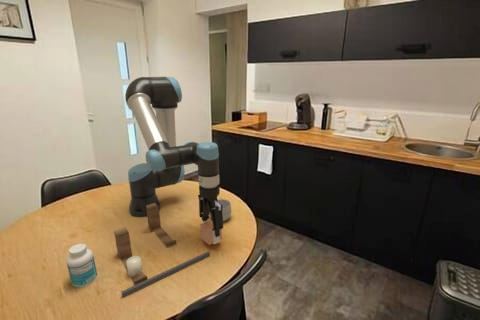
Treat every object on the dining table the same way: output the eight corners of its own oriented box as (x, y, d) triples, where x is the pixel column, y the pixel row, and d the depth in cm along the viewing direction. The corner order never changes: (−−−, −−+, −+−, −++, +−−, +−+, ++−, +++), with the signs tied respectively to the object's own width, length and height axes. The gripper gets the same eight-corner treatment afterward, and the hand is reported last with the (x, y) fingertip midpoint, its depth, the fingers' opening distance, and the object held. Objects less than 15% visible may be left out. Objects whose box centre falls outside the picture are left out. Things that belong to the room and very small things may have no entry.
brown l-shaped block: (148, 228, 117) (146, 205, 114) (157, 225, 120) (155, 202, 116) (167, 251, 102) (164, 225, 99) (176, 247, 105) (174, 221, 101)
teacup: (228, 225, 119) (227, 210, 117) (205, 223, 122) (204, 207, 119) (234, 211, 132) (234, 196, 130) (214, 209, 135) (213, 194, 132)
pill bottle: (79, 274, 90) (71, 241, 86) (101, 273, 91) (95, 240, 87) (67, 292, 83) (58, 256, 79) (92, 290, 84) (84, 254, 80)
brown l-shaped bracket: (118, 257, 99) (113, 230, 95) (129, 253, 101) (125, 227, 98) (135, 289, 84) (131, 259, 80) (148, 283, 86) (144, 254, 83)
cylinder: (126, 271, 90) (124, 259, 88) (139, 266, 92) (138, 254, 91) (130, 279, 86) (128, 266, 85) (144, 273, 89) (142, 260, 87)
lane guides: (104, 260, 97) (103, 253, 96) (180, 230, 116) (180, 224, 115) (123, 301, 79) (122, 293, 79) (210, 259, 98) (209, 252, 97)
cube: (213, 232, 107) (213, 219, 106) (222, 239, 103) (221, 225, 101) (200, 237, 104) (200, 224, 102) (209, 244, 99) (208, 231, 98)
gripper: (187, 179, 101) (191, 231, 108) (214, 196, 87) (217, 254, 94) (204, 175, 106) (207, 225, 113) (232, 190, 92) (233, 246, 99)
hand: (211, 238), depth 104 cm, fingers closed on cube, 6 cm apart
